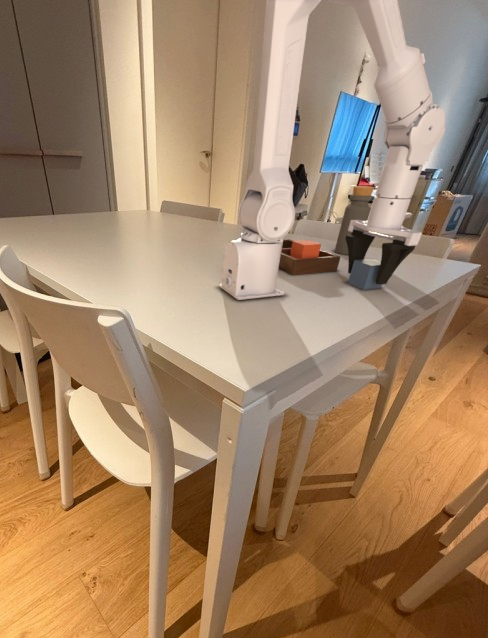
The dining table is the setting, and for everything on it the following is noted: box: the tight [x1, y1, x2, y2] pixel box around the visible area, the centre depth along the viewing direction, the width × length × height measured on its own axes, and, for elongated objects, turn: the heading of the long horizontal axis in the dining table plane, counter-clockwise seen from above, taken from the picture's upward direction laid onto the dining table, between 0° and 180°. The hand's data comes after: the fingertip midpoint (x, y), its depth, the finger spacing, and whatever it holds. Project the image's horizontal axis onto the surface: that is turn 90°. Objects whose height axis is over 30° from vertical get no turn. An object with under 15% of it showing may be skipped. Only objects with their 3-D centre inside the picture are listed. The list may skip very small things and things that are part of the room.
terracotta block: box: [290, 239, 322, 259], centre depth 75 cm, size 4×4×4 cm
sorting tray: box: [278, 238, 341, 276], centre depth 80 cm, size 20×12×3 cm, turn 20°
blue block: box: [347, 258, 383, 291], centre depth 65 cm, size 4×4×4 cm
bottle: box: [334, 185, 375, 256], centre depth 86 cm, size 6×6×15 cm
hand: (366, 278), depth 66 cm, fingers open, 7 cm apart
